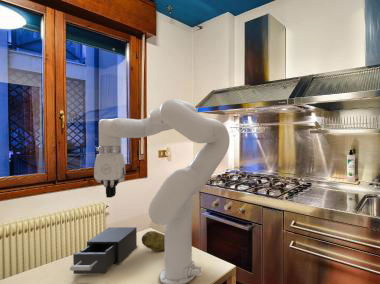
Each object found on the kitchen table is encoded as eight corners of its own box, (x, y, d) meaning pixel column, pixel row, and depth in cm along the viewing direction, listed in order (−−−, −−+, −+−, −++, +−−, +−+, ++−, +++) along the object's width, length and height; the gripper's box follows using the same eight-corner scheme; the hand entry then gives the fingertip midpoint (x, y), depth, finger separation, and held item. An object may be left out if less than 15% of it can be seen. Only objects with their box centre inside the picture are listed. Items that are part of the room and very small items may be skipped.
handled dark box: (96, 282, 78) (96, 261, 78) (62, 282, 77) (62, 261, 77) (125, 254, 96) (124, 237, 96) (97, 254, 96) (97, 237, 96)
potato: (165, 255, 97) (165, 236, 97) (138, 252, 99) (138, 234, 99) (175, 246, 106) (175, 229, 105) (149, 244, 108) (149, 227, 107)
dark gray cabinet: (118, 264, 90) (118, 241, 90) (87, 264, 90) (86, 241, 90) (136, 246, 105) (136, 227, 105) (109, 246, 105) (109, 227, 104)
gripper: (84, 151, 86) (85, 199, 86) (124, 151, 86) (124, 199, 86) (97, 150, 93) (98, 194, 94) (134, 150, 93) (134, 194, 94)
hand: (110, 196), depth 90 cm, fingers closed
